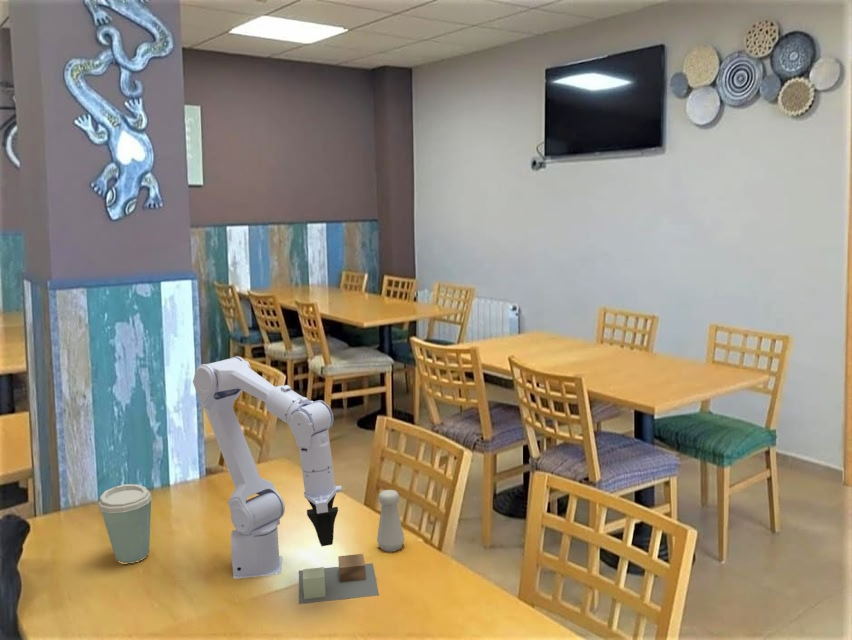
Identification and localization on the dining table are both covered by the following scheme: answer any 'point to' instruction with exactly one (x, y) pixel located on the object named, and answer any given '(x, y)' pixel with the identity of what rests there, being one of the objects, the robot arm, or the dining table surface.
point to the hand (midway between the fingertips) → (326, 537)
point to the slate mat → (342, 586)
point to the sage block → (314, 583)
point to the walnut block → (351, 568)
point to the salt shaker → (389, 522)
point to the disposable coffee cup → (127, 520)
